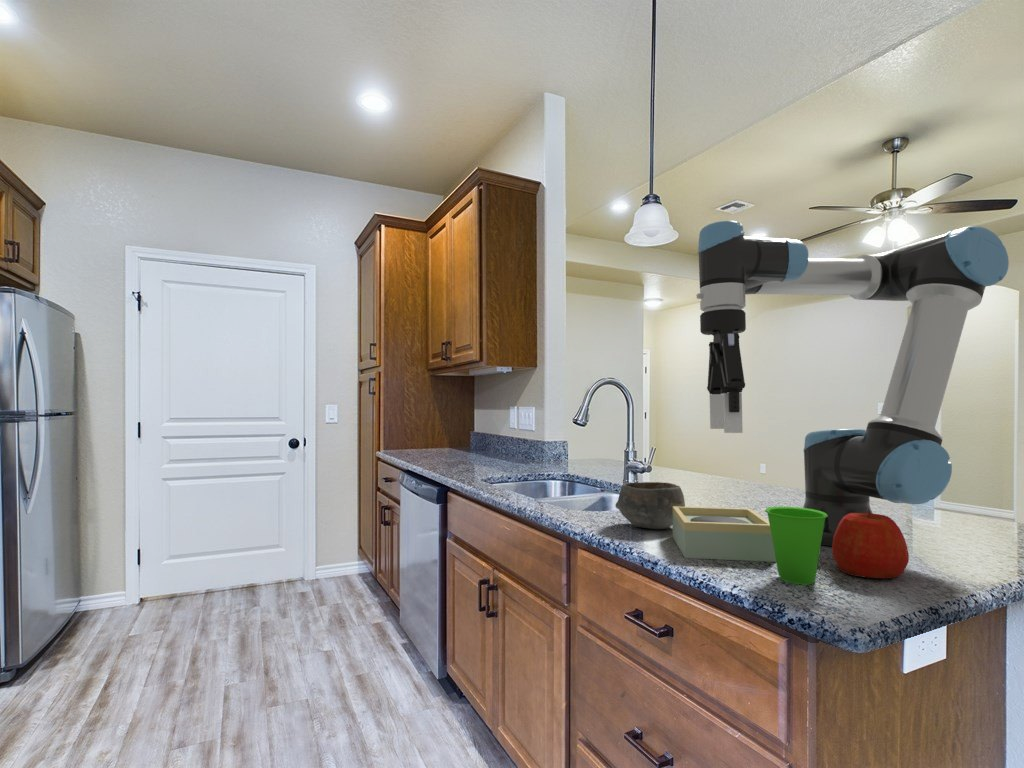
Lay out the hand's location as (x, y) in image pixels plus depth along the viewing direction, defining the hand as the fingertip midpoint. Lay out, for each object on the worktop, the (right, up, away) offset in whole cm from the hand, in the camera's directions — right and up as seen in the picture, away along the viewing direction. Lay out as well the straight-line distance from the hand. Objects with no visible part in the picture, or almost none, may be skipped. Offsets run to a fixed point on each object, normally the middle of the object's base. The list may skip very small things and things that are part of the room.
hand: (725, 430), depth 95 cm
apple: (+22, -24, -4) cm, 33 cm away
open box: (+4, -24, +12) cm, 27 cm away
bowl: (-6, -25, +29) cm, 39 cm away
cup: (+9, -24, -7) cm, 26 cm away
